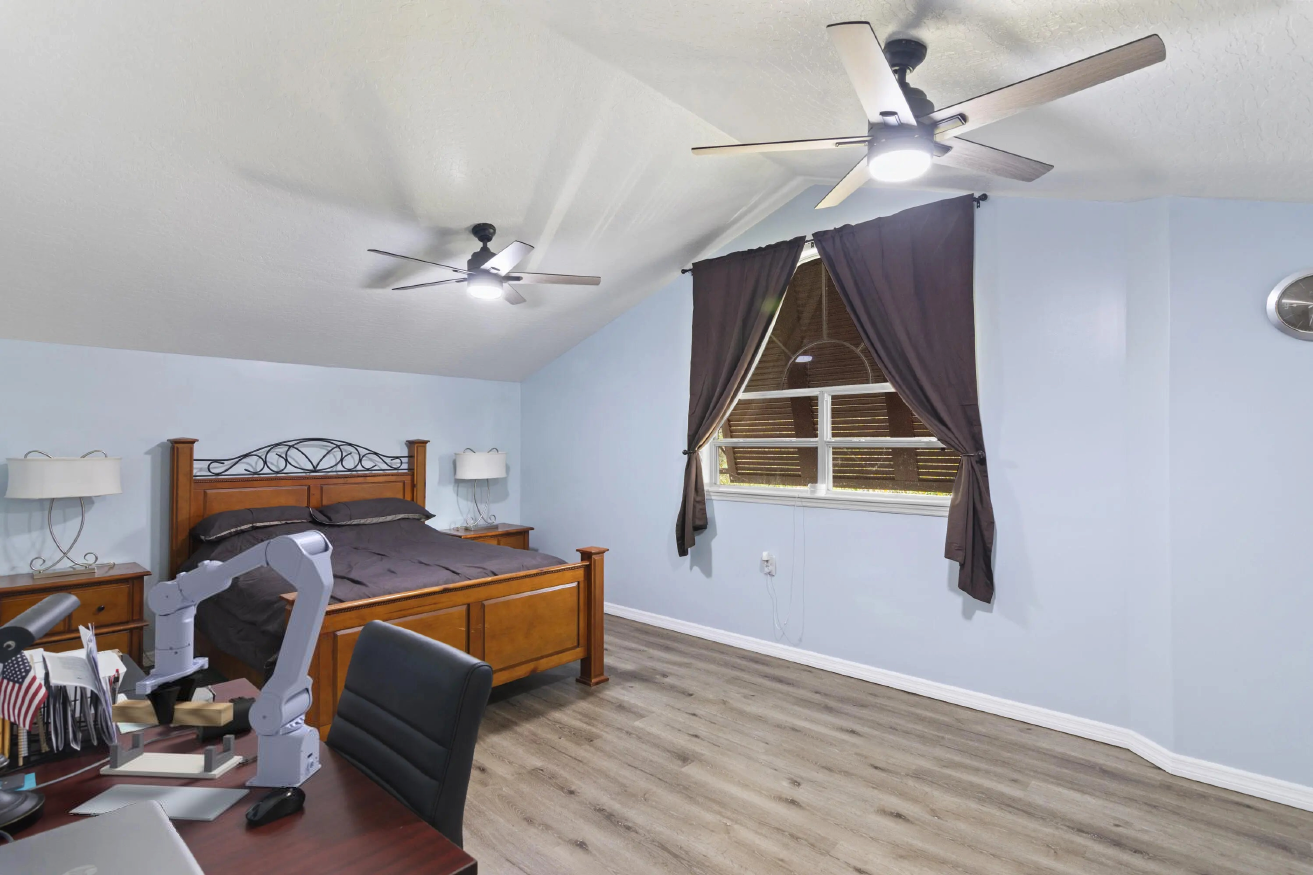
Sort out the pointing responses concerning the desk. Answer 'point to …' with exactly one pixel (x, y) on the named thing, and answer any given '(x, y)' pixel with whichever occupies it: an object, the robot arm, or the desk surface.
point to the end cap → (232, 727)
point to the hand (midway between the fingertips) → (173, 719)
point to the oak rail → (182, 713)
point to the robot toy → (202, 696)
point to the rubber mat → (166, 800)
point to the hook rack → (170, 761)
